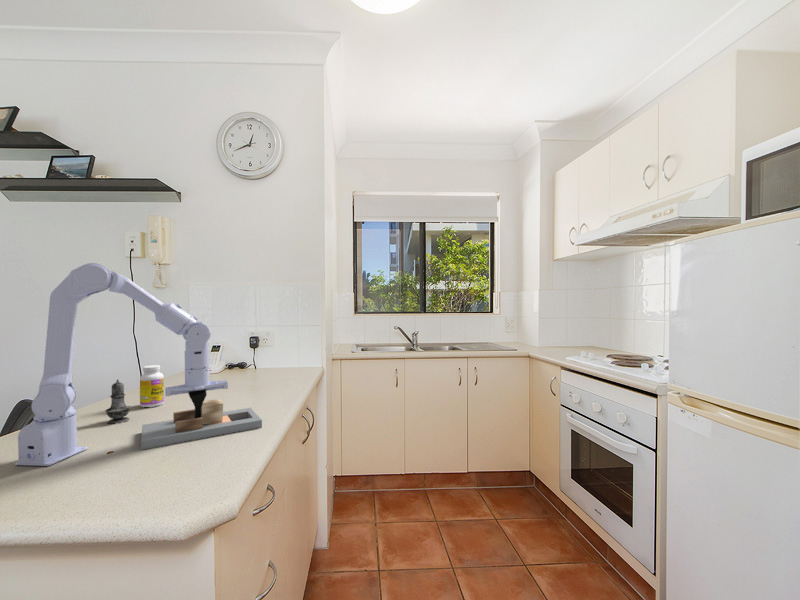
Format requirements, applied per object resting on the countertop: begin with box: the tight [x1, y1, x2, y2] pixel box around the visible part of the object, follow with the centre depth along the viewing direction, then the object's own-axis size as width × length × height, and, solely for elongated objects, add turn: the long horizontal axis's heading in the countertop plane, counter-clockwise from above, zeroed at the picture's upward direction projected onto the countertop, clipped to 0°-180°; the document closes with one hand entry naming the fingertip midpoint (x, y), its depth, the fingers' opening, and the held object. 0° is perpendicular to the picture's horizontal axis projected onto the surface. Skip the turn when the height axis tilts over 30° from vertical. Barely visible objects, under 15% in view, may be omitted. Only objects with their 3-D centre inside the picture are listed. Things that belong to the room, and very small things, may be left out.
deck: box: [140, 407, 263, 451], centre depth 103 cm, size 27×14×2 cm, turn 123°
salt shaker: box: [105, 379, 131, 425], centre depth 112 cm, size 6×6×12 cm
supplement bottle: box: [139, 364, 165, 408], centre depth 128 cm, size 7×7×13 cm
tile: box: [208, 415, 231, 425], centre depth 105 cm, size 6×7×2 cm
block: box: [200, 398, 224, 424], centre depth 104 cm, size 5×5×5 cm
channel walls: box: [173, 408, 203, 433], centre depth 101 cm, size 6×10×2 cm, turn 33°
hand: (198, 419), depth 103 cm, fingers closed, pressing on block
